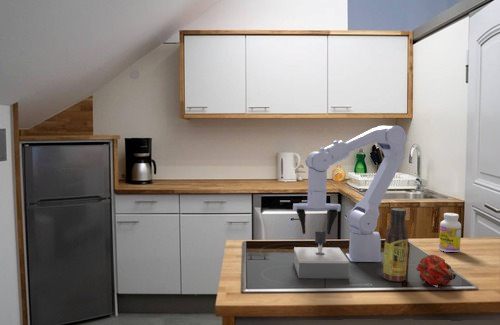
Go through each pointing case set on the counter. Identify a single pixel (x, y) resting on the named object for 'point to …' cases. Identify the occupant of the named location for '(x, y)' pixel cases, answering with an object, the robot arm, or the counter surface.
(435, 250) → the counter surface
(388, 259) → the sauce bottle
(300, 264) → the slotted white block
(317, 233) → the plunger
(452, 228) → the supplement bottle
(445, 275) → the dragon fruit
